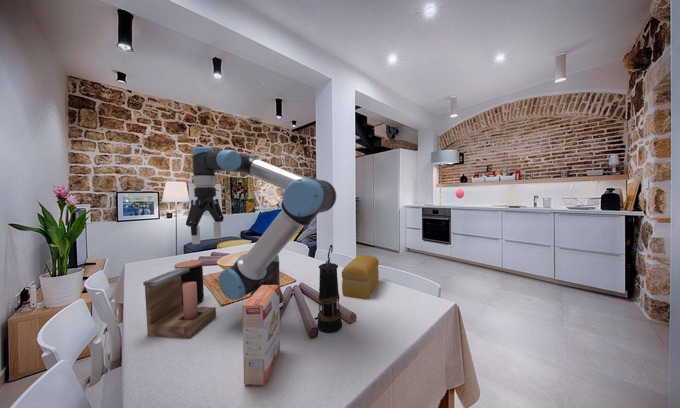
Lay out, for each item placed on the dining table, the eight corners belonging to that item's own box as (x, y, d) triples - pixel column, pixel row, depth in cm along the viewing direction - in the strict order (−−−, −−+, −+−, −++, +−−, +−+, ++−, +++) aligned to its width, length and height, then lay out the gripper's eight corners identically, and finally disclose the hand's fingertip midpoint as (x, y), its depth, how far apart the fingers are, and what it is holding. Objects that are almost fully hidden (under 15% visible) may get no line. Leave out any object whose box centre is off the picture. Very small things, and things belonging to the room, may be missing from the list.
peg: (201, 323, 91) (199, 281, 90) (192, 330, 86) (190, 286, 86) (190, 322, 91) (188, 281, 90) (181, 329, 87) (179, 285, 86)
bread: (368, 300, 108) (367, 267, 108) (341, 296, 113) (340, 264, 112) (379, 281, 131) (379, 254, 130) (356, 278, 136) (356, 252, 135)
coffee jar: (170, 305, 105) (168, 265, 105) (193, 296, 115) (191, 259, 115) (187, 310, 101) (185, 268, 101) (209, 299, 111) (207, 261, 111)
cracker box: (266, 386, 60) (264, 305, 59) (243, 386, 61) (240, 305, 60) (281, 350, 74) (280, 283, 73) (262, 350, 75) (260, 284, 74)
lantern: (312, 330, 85) (311, 246, 84) (324, 317, 93) (322, 241, 92) (336, 335, 82) (335, 248, 80) (345, 322, 90) (344, 242, 89)
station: (216, 316, 96) (214, 269, 95) (188, 339, 81) (186, 283, 80) (180, 314, 97) (178, 268, 97) (146, 336, 83) (143, 281, 82)
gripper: (214, 188, 108) (217, 234, 109) (171, 186, 83) (175, 247, 84) (230, 187, 107) (232, 234, 108) (192, 185, 83) (195, 247, 83)
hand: (207, 240), depth 96 cm, fingers open, 13 cm apart
